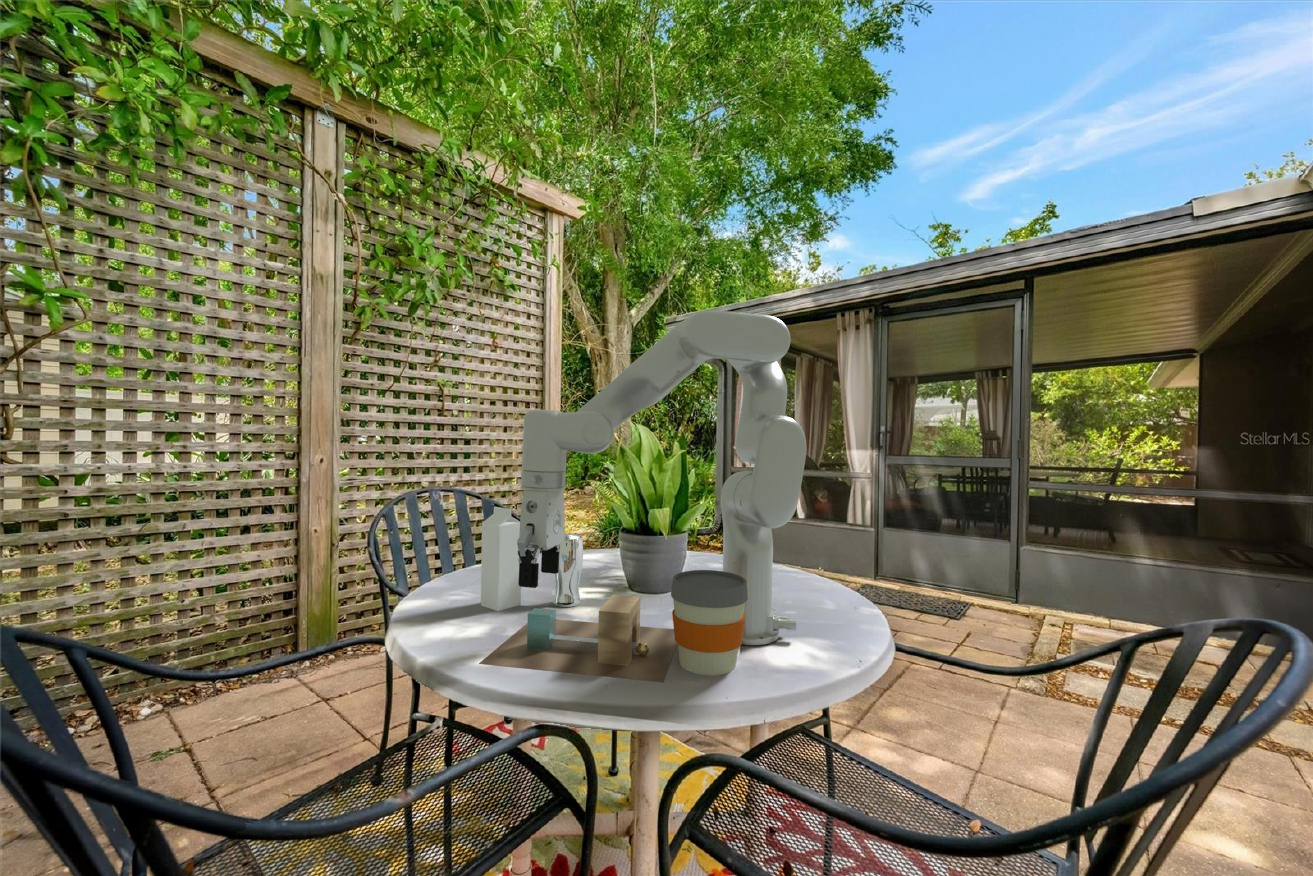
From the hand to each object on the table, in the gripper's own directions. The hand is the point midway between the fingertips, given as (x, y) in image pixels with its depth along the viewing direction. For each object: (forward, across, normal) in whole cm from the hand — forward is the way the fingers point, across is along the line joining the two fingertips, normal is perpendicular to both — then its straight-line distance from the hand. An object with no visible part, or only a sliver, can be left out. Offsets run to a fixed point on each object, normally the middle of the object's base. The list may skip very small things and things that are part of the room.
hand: (539, 579), depth 96 cm
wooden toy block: (+11, 0, -15) cm, 19 cm away
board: (+13, +3, -9) cm, 16 cm away
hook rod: (+12, 0, -9) cm, 15 cm away
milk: (+13, +20, +16) cm, 29 cm away
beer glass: (+13, +28, +4) cm, 31 cm away
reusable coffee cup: (+12, 0, -30) cm, 32 cm away
